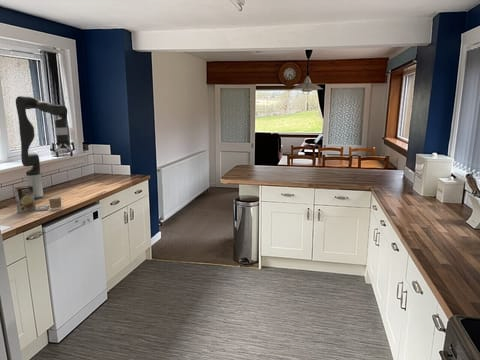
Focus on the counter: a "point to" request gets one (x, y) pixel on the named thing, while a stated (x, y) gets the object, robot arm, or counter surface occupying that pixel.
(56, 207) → the pad
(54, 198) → the block
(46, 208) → the pad
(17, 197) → the coffee box
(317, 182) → the counter surface
